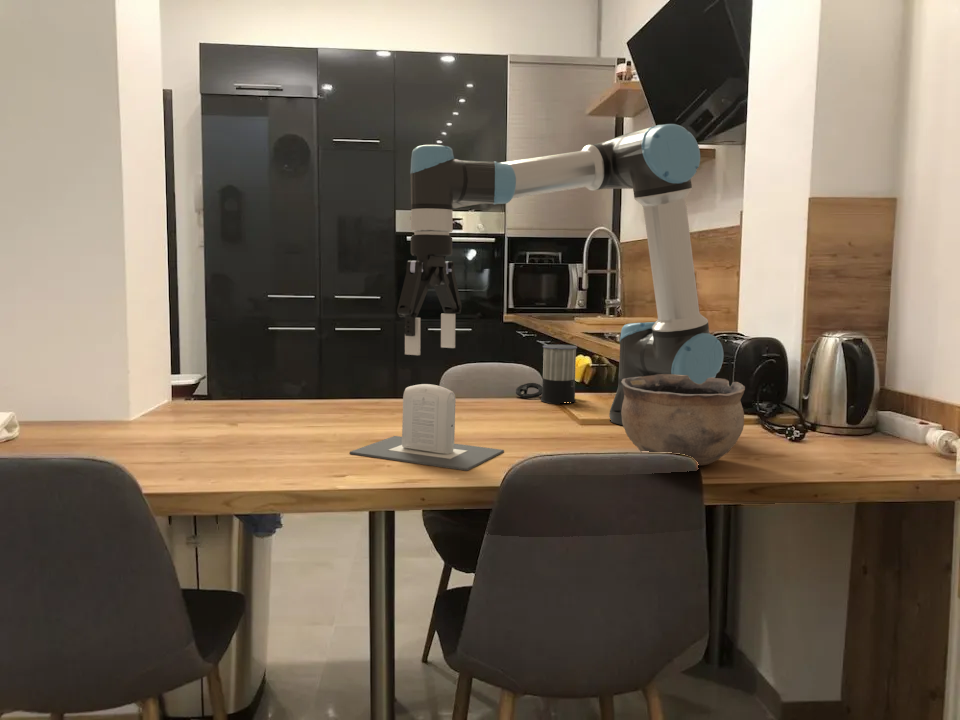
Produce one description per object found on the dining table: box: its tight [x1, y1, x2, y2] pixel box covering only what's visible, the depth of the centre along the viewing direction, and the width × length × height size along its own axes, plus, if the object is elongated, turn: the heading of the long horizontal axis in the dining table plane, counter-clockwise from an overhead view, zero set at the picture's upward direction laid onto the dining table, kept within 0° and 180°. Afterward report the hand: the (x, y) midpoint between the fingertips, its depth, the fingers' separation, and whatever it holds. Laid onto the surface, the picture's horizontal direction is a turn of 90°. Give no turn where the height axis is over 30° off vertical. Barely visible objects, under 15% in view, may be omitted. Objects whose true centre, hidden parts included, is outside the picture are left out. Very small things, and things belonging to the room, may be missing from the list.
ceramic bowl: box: [621, 374, 746, 466], centre depth 142 cm, size 22×22×15 cm
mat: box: [349, 435, 505, 471], centre depth 146 cm, size 24×16×1 cm, turn 65°
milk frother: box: [515, 344, 578, 405], centre depth 208 cm, size 14×16×15 cm
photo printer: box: [401, 383, 457, 454], centre depth 145 cm, size 10×4×12 cm, turn 65°
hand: (431, 351), depth 144 cm, fingers open, 13 cm apart
